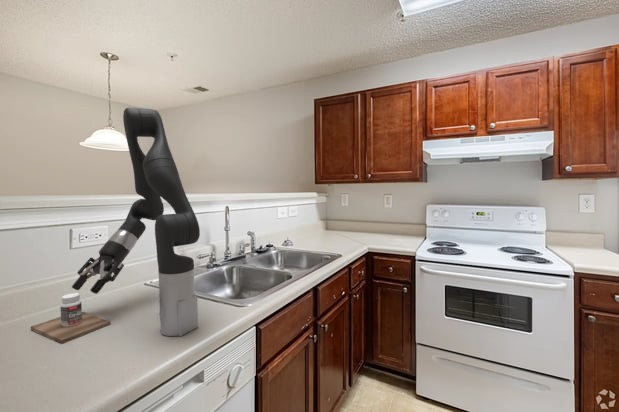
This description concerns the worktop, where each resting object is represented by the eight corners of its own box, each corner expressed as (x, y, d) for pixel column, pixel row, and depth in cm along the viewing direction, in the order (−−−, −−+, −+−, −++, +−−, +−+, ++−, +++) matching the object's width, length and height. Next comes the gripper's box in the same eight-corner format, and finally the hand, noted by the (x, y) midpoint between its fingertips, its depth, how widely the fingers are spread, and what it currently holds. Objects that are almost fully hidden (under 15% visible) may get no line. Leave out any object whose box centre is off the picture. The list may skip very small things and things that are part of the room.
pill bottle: (70, 328, 81) (68, 299, 81) (57, 326, 82) (55, 297, 82) (86, 320, 86) (85, 293, 85) (73, 319, 87) (72, 292, 86)
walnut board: (110, 324, 85) (110, 321, 85) (61, 343, 75) (61, 340, 75) (79, 313, 93) (79, 310, 93) (30, 330, 82) (30, 326, 82)
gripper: (96, 238, 97) (58, 282, 87) (126, 240, 92) (89, 287, 82) (112, 250, 102) (78, 293, 92) (141, 253, 97) (109, 299, 87)
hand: (83, 290), depth 87 cm, fingers open, 8 cm apart
